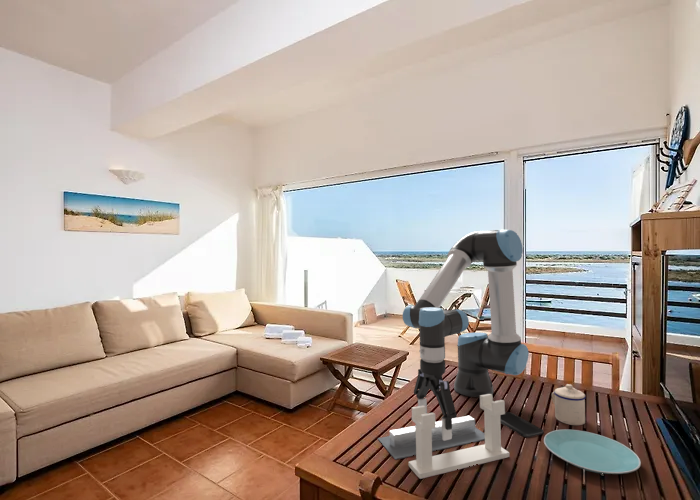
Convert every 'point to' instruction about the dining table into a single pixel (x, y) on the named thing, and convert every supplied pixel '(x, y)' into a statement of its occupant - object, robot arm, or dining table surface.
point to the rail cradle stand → (460, 458)
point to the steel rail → (408, 434)
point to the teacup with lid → (569, 405)
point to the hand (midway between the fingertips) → (434, 428)
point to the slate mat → (433, 444)
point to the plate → (592, 452)
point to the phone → (520, 425)
